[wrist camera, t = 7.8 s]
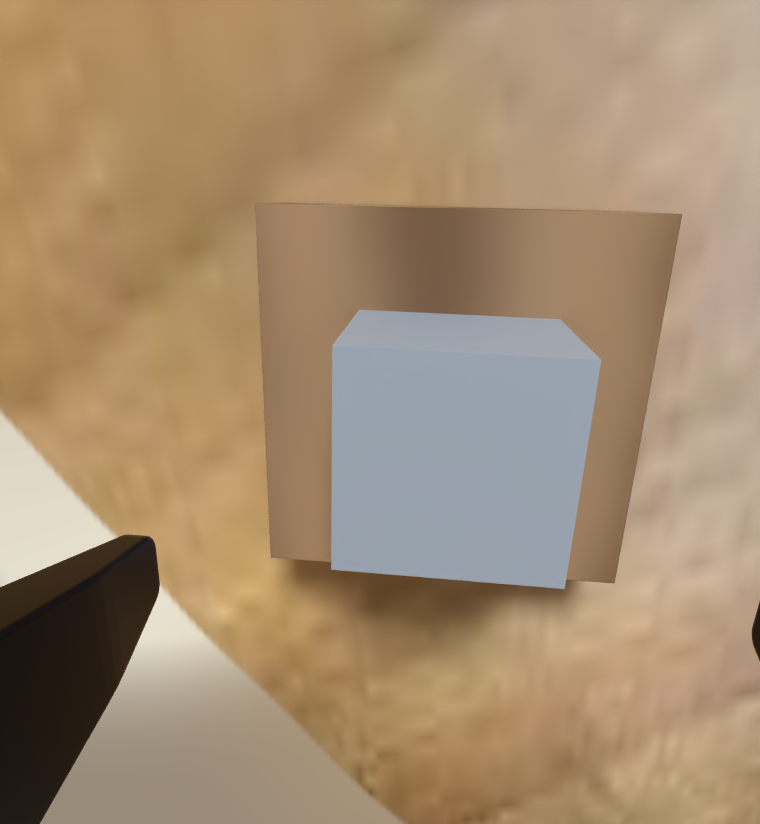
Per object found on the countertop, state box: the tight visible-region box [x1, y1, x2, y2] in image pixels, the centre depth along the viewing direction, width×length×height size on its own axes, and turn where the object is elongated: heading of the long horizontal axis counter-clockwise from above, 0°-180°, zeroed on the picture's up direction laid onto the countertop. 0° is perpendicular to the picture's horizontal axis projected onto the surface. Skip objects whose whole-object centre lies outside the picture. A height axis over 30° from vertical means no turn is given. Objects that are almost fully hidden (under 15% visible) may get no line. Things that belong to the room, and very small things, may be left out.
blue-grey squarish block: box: [331, 310, 601, 589], centre depth 14 cm, size 5×5×4 cm
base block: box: [255, 203, 682, 583], centre depth 17 cm, size 10×10×3 cm
